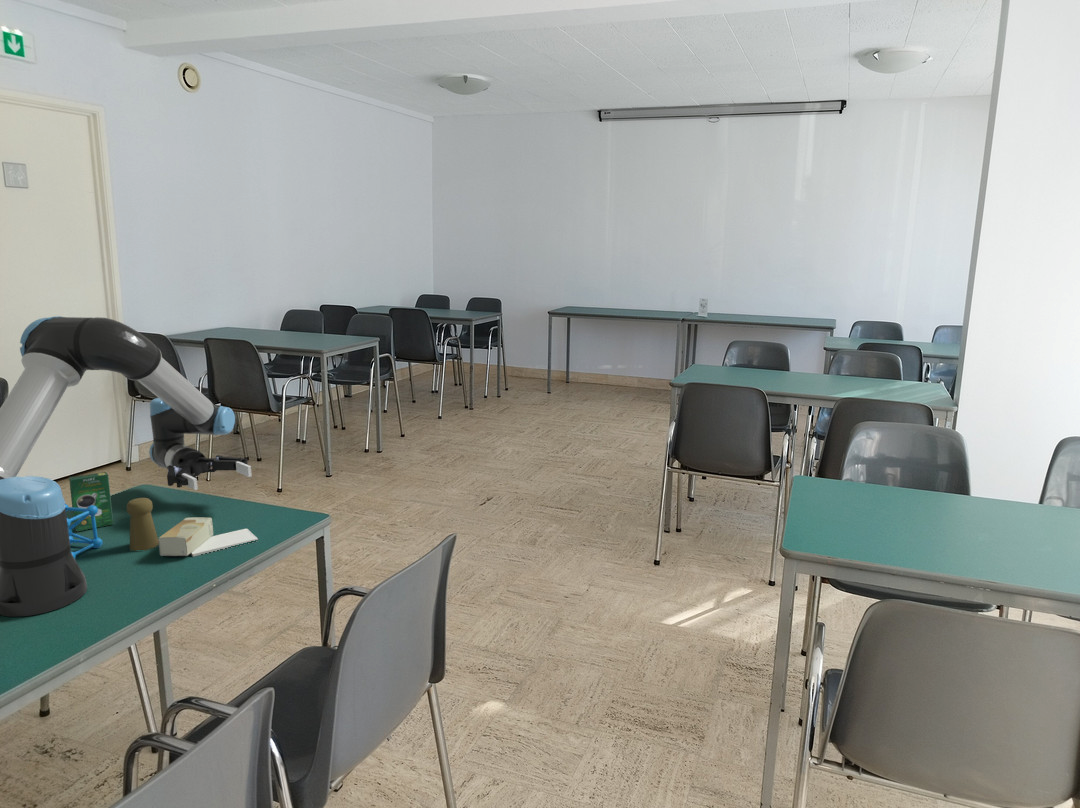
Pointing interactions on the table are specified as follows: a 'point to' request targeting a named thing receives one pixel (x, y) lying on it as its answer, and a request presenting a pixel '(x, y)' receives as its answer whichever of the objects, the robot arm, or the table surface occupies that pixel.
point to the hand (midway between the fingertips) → (223, 477)
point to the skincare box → (185, 536)
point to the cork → (141, 525)
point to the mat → (224, 541)
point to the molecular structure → (89, 511)
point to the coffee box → (92, 499)
